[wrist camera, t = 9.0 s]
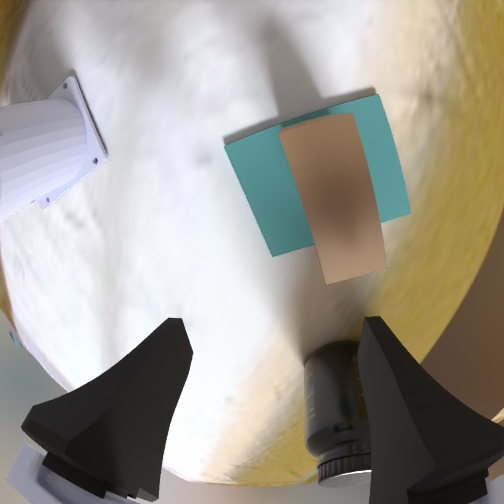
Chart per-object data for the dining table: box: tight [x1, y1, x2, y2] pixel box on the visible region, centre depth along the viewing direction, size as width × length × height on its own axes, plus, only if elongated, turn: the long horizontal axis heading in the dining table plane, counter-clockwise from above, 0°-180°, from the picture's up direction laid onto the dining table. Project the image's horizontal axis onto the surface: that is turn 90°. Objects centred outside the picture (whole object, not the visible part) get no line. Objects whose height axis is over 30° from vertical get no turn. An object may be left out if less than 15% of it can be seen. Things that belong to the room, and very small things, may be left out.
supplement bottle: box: [304, 342, 371, 488], centre depth 19 cm, size 7×7×12 cm
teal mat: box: [224, 94, 411, 257], centre depth 16 cm, size 10×8×1 cm
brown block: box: [278, 113, 387, 285], centre depth 13 cm, size 7×3×6 cm, turn 21°
